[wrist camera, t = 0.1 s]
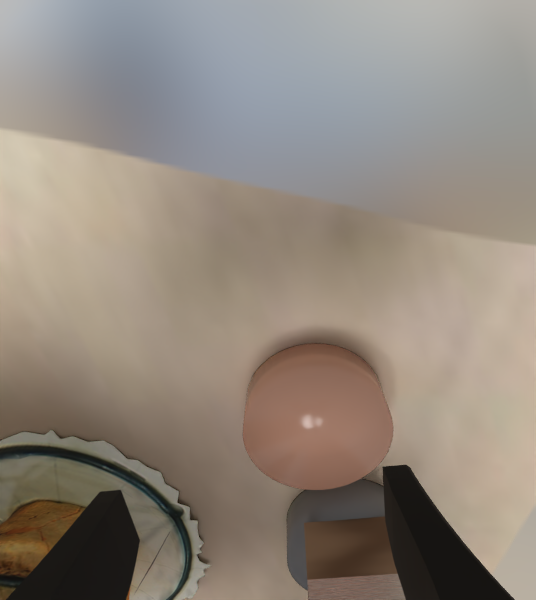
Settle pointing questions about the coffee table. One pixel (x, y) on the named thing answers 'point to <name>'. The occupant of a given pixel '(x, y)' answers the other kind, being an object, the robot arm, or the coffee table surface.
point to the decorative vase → (73, 501)
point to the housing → (350, 561)
